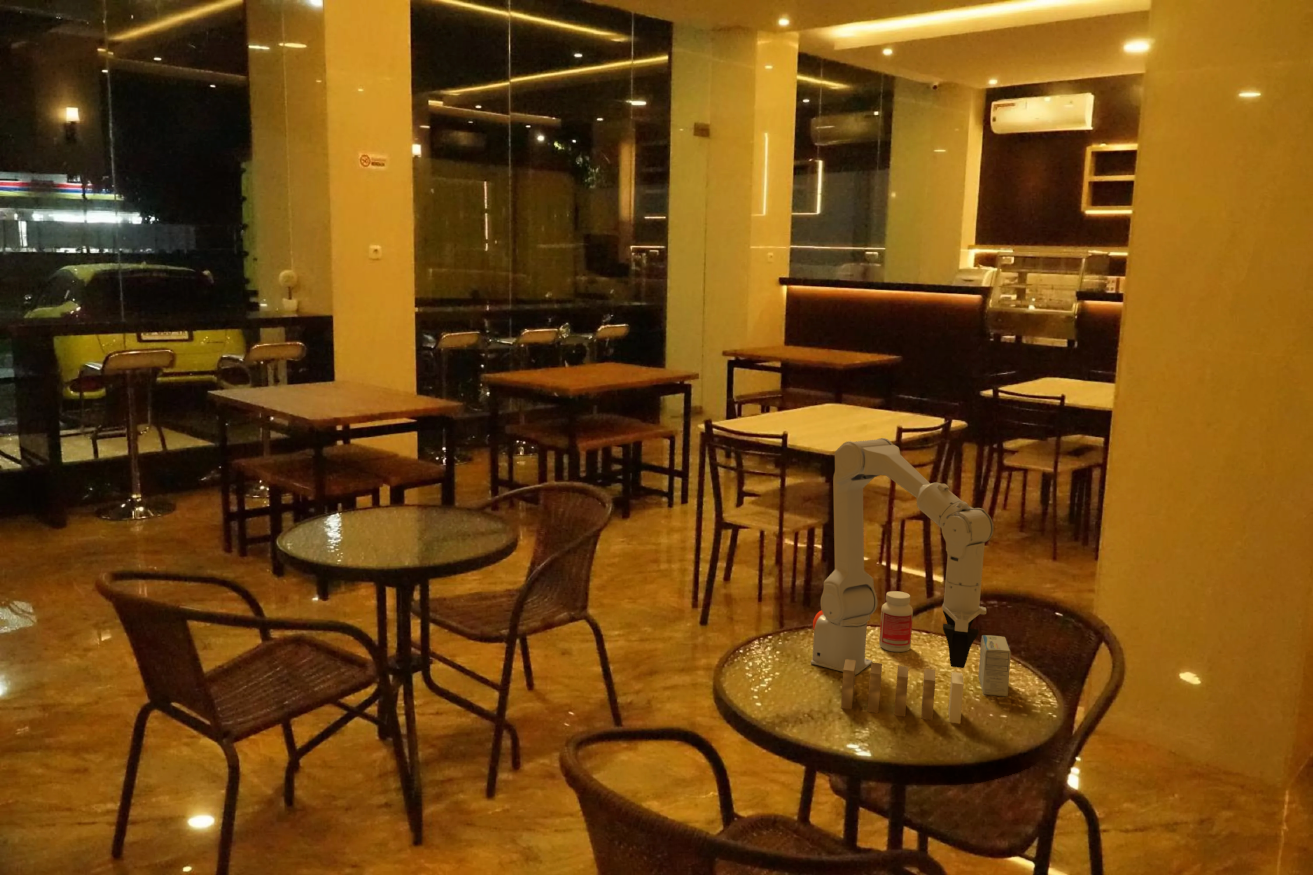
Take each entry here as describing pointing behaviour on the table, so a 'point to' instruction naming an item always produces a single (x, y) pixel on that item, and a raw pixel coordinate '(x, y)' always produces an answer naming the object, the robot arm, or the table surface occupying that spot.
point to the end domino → (956, 697)
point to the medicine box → (994, 665)
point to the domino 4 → (928, 694)
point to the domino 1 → (848, 684)
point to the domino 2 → (874, 687)
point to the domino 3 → (901, 691)
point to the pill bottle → (896, 622)
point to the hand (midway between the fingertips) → (957, 658)
